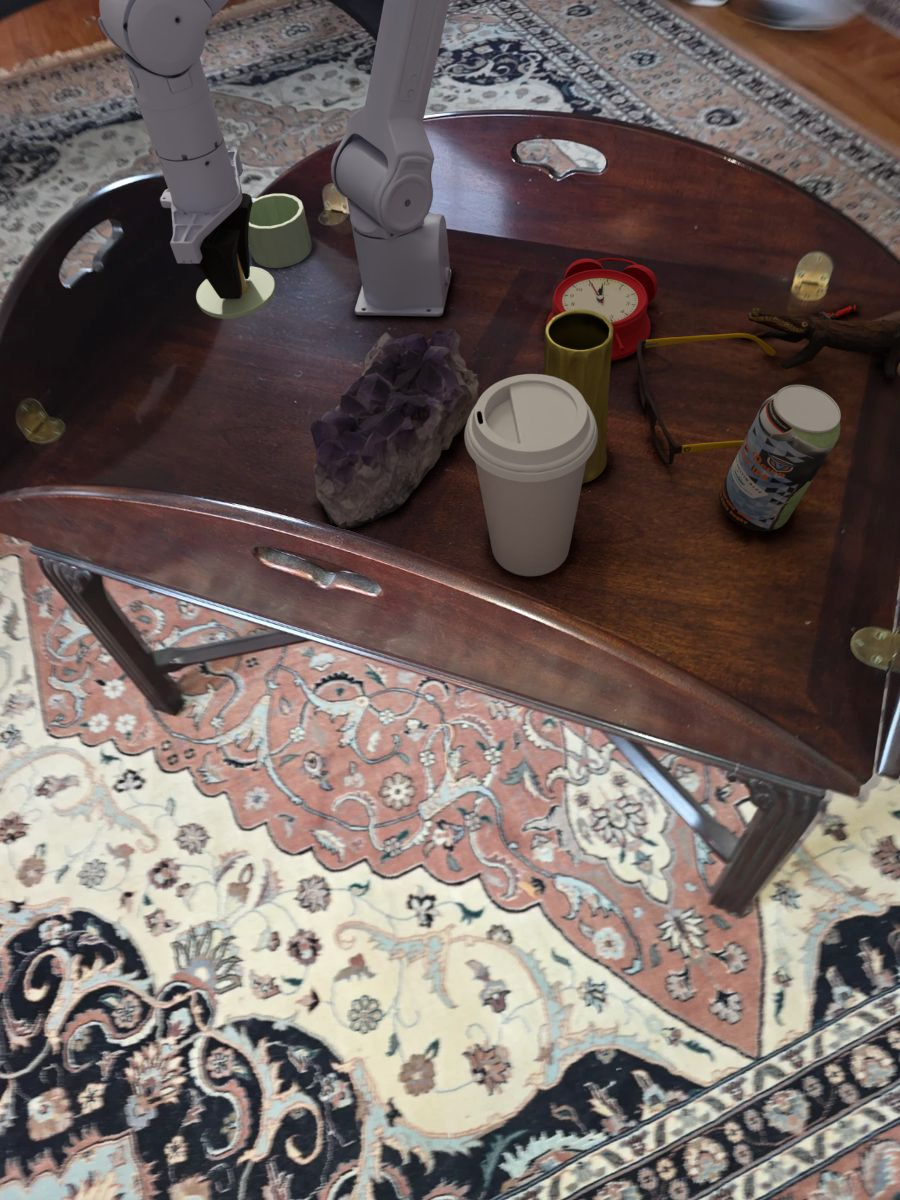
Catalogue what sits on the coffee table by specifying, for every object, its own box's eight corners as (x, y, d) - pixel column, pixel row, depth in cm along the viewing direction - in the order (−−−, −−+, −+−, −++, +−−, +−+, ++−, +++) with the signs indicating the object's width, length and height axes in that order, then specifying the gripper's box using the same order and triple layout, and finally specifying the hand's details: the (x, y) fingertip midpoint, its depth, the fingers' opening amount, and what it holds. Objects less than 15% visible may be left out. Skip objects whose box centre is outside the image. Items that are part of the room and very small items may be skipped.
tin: (317, 233, 103) (309, 193, 99) (304, 268, 99) (294, 228, 95) (260, 232, 104) (249, 193, 100) (245, 268, 100) (233, 228, 96)
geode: (409, 553, 74) (376, 470, 66) (299, 526, 79) (256, 446, 71) (504, 393, 84) (485, 304, 76) (400, 378, 88) (372, 292, 80)
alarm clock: (531, 333, 84) (569, 216, 89) (534, 373, 90) (570, 261, 95) (639, 348, 81) (672, 227, 86) (636, 389, 87) (667, 273, 92)
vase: (602, 489, 77) (615, 358, 65) (533, 482, 78) (533, 352, 66) (609, 440, 80) (623, 307, 68) (543, 434, 81) (544, 302, 69)
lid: (285, 275, 86) (274, 232, 82) (267, 324, 82) (254, 281, 78) (211, 275, 87) (197, 232, 83) (189, 324, 83) (173, 281, 79)
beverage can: (707, 489, 76) (734, 380, 66) (792, 479, 76) (831, 369, 66) (727, 545, 72) (757, 438, 62) (816, 535, 72) (861, 427, 62)
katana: (865, 311, 87) (863, 316, 87) (856, 301, 88) (854, 306, 88) (743, 341, 86) (742, 346, 86) (736, 330, 87) (735, 336, 87)
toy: (741, 370, 80) (768, 327, 76) (731, 318, 84) (756, 274, 80) (965, 414, 83) (1003, 375, 79) (945, 361, 87) (980, 321, 83)
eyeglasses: (625, 372, 85) (629, 338, 82) (774, 355, 85) (783, 320, 81) (658, 479, 76) (664, 447, 73) (823, 460, 76) (837, 426, 73)
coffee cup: (490, 494, 77) (483, 358, 65) (598, 513, 75) (611, 375, 63) (459, 579, 72) (445, 448, 60) (574, 602, 70) (583, 470, 58)
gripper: (169, 101, 77) (215, 241, 88) (113, 192, 68) (172, 335, 80) (246, 99, 76) (283, 241, 87) (199, 191, 68) (246, 335, 79)
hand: (235, 286), depth 83 cm, fingers closed on lid, 2 cm apart
